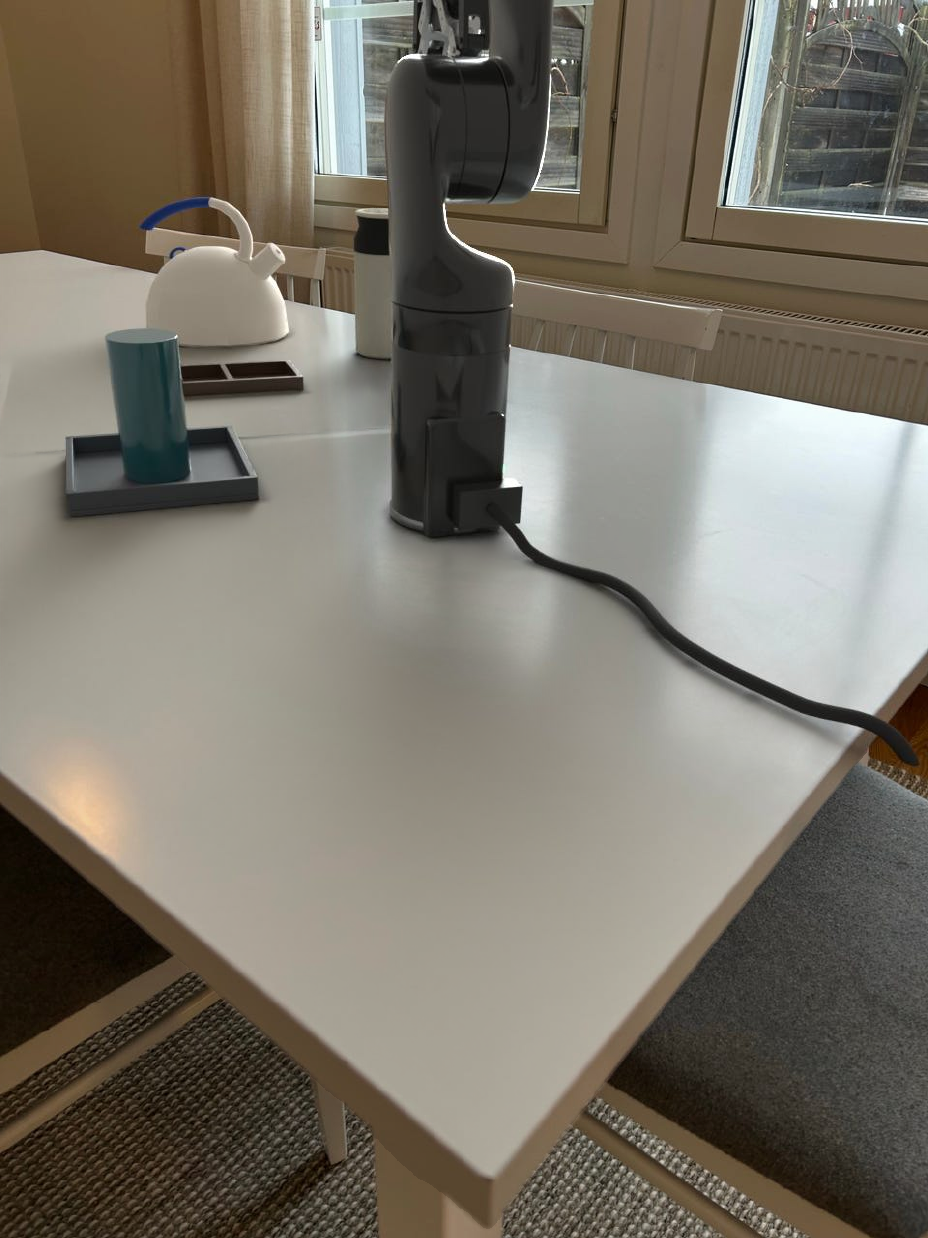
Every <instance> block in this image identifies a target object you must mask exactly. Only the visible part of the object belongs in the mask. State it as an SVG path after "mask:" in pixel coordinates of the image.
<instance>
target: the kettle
mask: <svg viewBox="0 0 928 1238" xmlns="http://www.w3.org/2000/svg"><path fill="white" fill-rule="evenodd" d="M196 208H212V209H213V208H214V209H215V210H218V211H221V212H222V213H223V214H225V215H226V216H228V217H229V219H230V220H231V221H232V223H233V224H234V226H235V227H236V230H237V233H238V237H239V248H238V250H236V249H233V248H231V247H227V246H218V245H217V246H215V245H209V246H208V245H205V246H196V247H192V248H191V249H190V248H189V249H188V250H187V248H185V247H184V246H177V247H174V248H173V249H172V250H171V251H170V253H169V259H170V260H169V261H168V262H167V263H165V264H164V265H163V266H162V267H161V268H160V270H159V271H158V272H157V274H156V275H155V277H154V279H153V280H152V281H151V284H150V288H149V290H148V295H147V298H146V301H145V327H146V328H152V329H163V330H169V331H172V332H175V333H176V334H177V336H178V346H179V347H188V348H208V347H232V346H234V347H235V346H253V345H254V346H255V345H257V346H258V345H264V344H270V343H274V342H277V341H279V340H281V339H284V338H285V337H286V336H287V335H288V333H289V332H290V328H289V322H288V316H287V307H286V302H285V300H284V297H283V295H282V293H281V290H280V288H279V286H278V284H277V282H276V281H275V280H274V277H272V275H273V274H274V273H275V272H276V271H277V270H278V269H279V268H280V267H281V266H282V265H285V263H286V256H285V254H284V253H283V251H282V249H281V248H280V247H279V246H278V245H276V244H275V243H273V242H267V244H266V246H265V247H263V249H262V250H260V251H259V252H258V253H257V254H256V255H255V256H254V257H252V256H253V251H254V242H253V241H254V240H253V239H254V238H253V234H252V231H251V227H250V226H249V223H248V221H247V220H246V219H245V217H244V216H243V215H242V213H241V212H240V211H239V210H238V209H237V208H235V207H234V206H233V205H232V204H230V202H228V201H226V200H221V199H218V198H214V197H212V196H202V197H192V198H191V197H190V198H186V199H181V200H178V201H175V202H172V203H169V204H166V205H164V206H162V207H161V208H159V209H157V210H155V211H154V212H153V213H151V214H150V215H148V216H147V217H146V218H145V219H144V220H143V221H142V222H141V223H140V225H139V228H140V229H141V230H143V231H153V230H154V228H155V227H157V225H158V224H159V223H160V222H162V221H164V220H165V219H167V218H168V217H171V216H172V215H175V214H177V213H180V212H183V211H187V210H191V209H196ZM177 251H182V252H181V253H178V254H176V255H175V256H174V254H175V253H176V252H177Z"/></svg>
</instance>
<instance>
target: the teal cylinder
mask: <svg viewBox="0 0 928 1238" xmlns="http://www.w3.org/2000/svg"><path fill="white" fill-rule="evenodd" d="M104 343H105V350H106V356H107V364H108V372H109V377H110V379H109V380H110V385H111V391H112V397H113V398H112V399H113V407H114V415H115V420H116V428H117V433H118V435H119V442H120V449H121V456H122V463H123V470H124V476H125V477H126V478H127V479H129V480H131V481H134V482H139V483H166V482H172V481H176V480H179V479H182V478H185V477H186V476H188V475H189V474H190V473H191V471H192V469H191V459H190V450H189V440H188V431H187V428H188V423H187V413H186V403H185V397H184V393H183V384H182V374H181V365H182V364H181V357H180V346H178V336H177V334H176V333H175V332H172V331H169V330H163V329H152V328H145V327H144V328H143V327H141V328H126V329H119V330H114V331H112V332H109V333H107V334H105V335H104Z"/></svg>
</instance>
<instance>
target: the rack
mask: <svg viewBox="0 0 928 1238" xmlns="http://www.w3.org/2000/svg"><path fill="white" fill-rule="evenodd" d="M180 365H181V374H182V384H183V393H184V398H190V397H191V398H192V397H205V396H207V397H208V396H222V395H240V394H241V395H243V394H257V393H276V392H291V391H292V392H293V391H304V390H305V389H304V387H305V386H304V376H303V375H302V374H301V372H299V370H298V369H297V367H296V366H294V364H293V363H292V362H291V361H290V360H289V359H275V360H274V359H273V360H255V361H254V360H253V361H233V362H232V361H231V362H213V363H211V362H210V363H209V362H208V363H193V364H180Z"/></svg>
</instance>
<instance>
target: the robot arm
mask: <svg viewBox="0 0 928 1238" xmlns="http://www.w3.org/2000/svg"><path fill="white" fill-rule="evenodd" d="M554 4H555V0H413V9H412V10H413V13H412V15H413V16H412V45H411V48H412V53H413V54H408V55H406V56H404V57H402V58H401V59H400V60H398V61H397V62H396V64H395V65H394V67H393V69H392V70H391V73H390V76H389V79H388V82H387V88H386V93H385V97H384V115H383V133H384V134H383V135H384V138H383V139H384V156H385V157H384V158H385V159H384V160H385V175H386V188H387V189H386V193H387V209H388V221H389V257H390V270H391V299H392V301H391V359H390V469H391V470H390V476H391V478H390V480H391V481H390V484H391V485H390V486H391V488H390V489H391V491H390V492H391V493H390V494H391V495H390V496H391V498H390V501H389V513H390V517H392V519H393V520H394V521H395V522H397V523H399V525H402V526H403V527H406V528H408V529H412V530H415V531H419V532H422V533H424V534H425V535H426V537H428V538H437V537H444V536H452V535H453V536H454V535H462V534H471V533H480V532H488V531H496V530H497V531H498V530H500V529H501V528H502V529H503V530H504V531H505V532H506V533H507V534H508V535H509V536H510V537H511V539H512V540H513V542H514V543H515V544H516V546H517V548H518V549H519V550H520V552H521V553H522V554H523V555H524V556H525V557H528V558H529V559H530V560H532V561H533V562H535V563H536V564H538V565H540V566H542V567H546V568H548V569H549V570H554V571H556V572H559V573H562V574H565V575H567V576H571V577H574V578H577V579H580V580H585V581H589V582H592V583H596V584H599V585H602V586H605V587H606V588H609V589H612V590H613V591H614V592H615V591H616V592H617V593H619V594H620V595H621V596H623V597H625V598H626V599H627V600H628V601H630V602H631V603H632V604H633V605H635V606H636V608H638V610H640V612H641V613H642V614H643V615H644V617H645V618H646V619H647V620H648V621H649V622H650V624H651V625H652V626H653V627H654V628H655V629H656V631H657V632H658V633H659V634H660V635H662V637H663V638H664V639H665V640H667V641H668V642H669V643H670V644H671V645H673V646H674V647H675V648H677V649H678V650H679V651H680V652H682V653H683V654H685V655H687V656H688V657H690V658H691V659H693V660H694V661H696V662H698V663H699V664H701V665H702V666H704V667H706V668H708V669H710V670H711V671H712V672H715V673H716V674H719V675H720V676H722V677H725V678H726V679H728V680H730V681H732V682H734V683H736V684H737V685H739V686H742V687H744V688H746V689H748V690H750V691H752V692H754V693H757V694H758V695H760V696H762V697H764V698H767V699H769V700H771V701H774V702H775V703H777V704H780V705H782V706H784V707H787V708H788V709H791V710H793V711H795V712H797V713H800V714H803V715H806V716H809V717H814V718H817V719H821V720H825V721H831V722H836V723H840V724H843V725H849V726H854V727H857V728H860V729H863V730H866V731H868V732H870V733H872V734H874V735H876V736H877V737H879V738H880V739H881V740H882V741H884V742H885V743H886V744H887V745H888V746H889V747H890V748H891V749H892V751H893V752H894V753H895V755H896V756H897V758H898V760H899V761H901V762H902V763H903V764H905V765H908V766H910V767H918V766H920V765H921V764H920V761H919V758H918V756H917V754H916V752H915V750H914V748H913V747H912V746H911V744H910V743H909V742H908V740H907V739H906V738H905V737H904V736H903V735H902V733H901V732H900V731H899V730H897V729H896V727H894V726H893V725H891V724H890V723H888V722H886V721H885V720H883V719H881V718H880V717H877V716H875V715H873V714H871V713H868V712H864V711H860V710H858V709H852V708H849V707H844V706H838V705H832V704H828V703H824V702H818V701H815V700H812V699H809V698H806V697H803V696H801V695H799V694H796V693H794V692H792V691H790V690H787V689H786V688H783V687H781V686H778V685H776V684H774V683H772V682H769V681H768V680H766V679H763V678H761V677H759V676H757V675H755V674H753V673H750V672H749V671H746V670H744V669H742V668H741V667H738V666H736V665H735V664H732V663H730V662H728V661H727V660H725V659H722V658H720V657H719V656H717V655H715V654H714V653H712V652H710V651H709V650H707V649H705V648H704V647H702V646H701V645H699V644H698V643H696V642H694V641H693V640H692V639H689V638H688V637H686V636H685V635H684V634H682V632H680V631H679V630H677V629H676V628H675V627H674V626H673V625H672V624H671V623H670V622H668V620H667V619H666V618H665V617H664V616H663V614H661V612H660V611H659V610H658V609H657V607H655V605H654V604H653V603H652V602H651V601H650V599H648V598H647V597H646V596H645V595H644V594H643V593H642V592H640V591H639V590H638V589H637V588H636V587H634V586H632V585H631V584H629V583H628V582H626V581H624V580H622V579H621V578H619V577H618V576H615V575H612V574H609V573H607V572H603V571H600V570H595V569H592V568H589V567H585V566H584V567H583V566H579V565H574V564H571V563H567V562H563V561H561V560H558V559H556V558H553V557H552V556H549V555H547V554H546V553H543V552H542V551H540V550H539V549H537V548H536V547H535V546H533V545H532V544H531V542H529V540H528V539H527V537H526V536H525V534H524V533H523V531H522V529H520V527H518V525H519V524H521V519H522V505H523V493H524V492H523V491H524V490H523V489H524V486H523V485H522V484H521V483H520V482H519V481H518V480H516V479H515V478H513V477H508V478H504V471H505V463H504V462H505V461H504V460H505V445H506V429H507V412H508V411H507V410H508V392H509V377H510V376H509V375H510V360H511V344H512V330H513V329H512V328H513V311H514V310H513V309H514V305H513V304H514V295H515V274H514V270H513V268H512V267H511V265H510V264H509V263H507V262H506V261H505V260H502V259H500V258H498V257H496V256H493V255H491V254H487V253H485V252H483V251H482V252H481V251H479V250H477V249H475V248H473V247H470V246H469V245H467V244H466V243H464V242H463V241H461V240H460V239H459V238H458V237H456V236H455V235H454V234H452V232H451V231H450V229H449V227H448V224H447V216H446V209H445V207H446V206H445V205H512V204H518V203H520V202H522V201H525V200H526V199H527V198H528V197H529V196H530V195H531V193H532V192H533V190H534V189H535V186H536V184H537V182H538V179H539V177H540V173H541V170H542V168H543V163H544V158H545V153H546V147H547V146H546V145H547V139H548V133H549V132H548V131H549V121H550V102H551V88H552V87H551V86H552V85H551V84H552V83H551V82H552V59H553V56H552V55H553V35H554V33H553V32H554V7H555V5H554ZM449 49H450V54H451V55H448V50H449ZM483 51H488V57H483V56H482V54H483ZM500 527H501V528H500Z"/></svg>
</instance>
